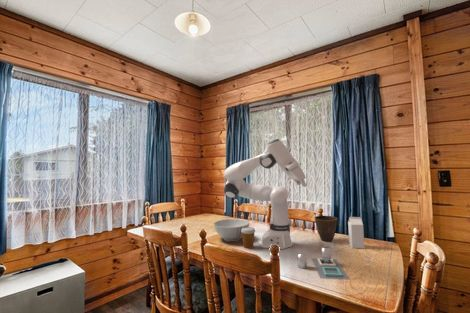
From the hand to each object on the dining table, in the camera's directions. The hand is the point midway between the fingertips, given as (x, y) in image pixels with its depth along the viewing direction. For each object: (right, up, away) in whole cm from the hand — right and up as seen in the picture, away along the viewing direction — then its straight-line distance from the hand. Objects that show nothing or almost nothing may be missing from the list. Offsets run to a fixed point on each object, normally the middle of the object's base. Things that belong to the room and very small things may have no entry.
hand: (302, 185), depth 128 cm
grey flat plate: (+10, -42, -12) cm, 45 cm away
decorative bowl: (-40, -46, +45) cm, 75 cm away
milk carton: (+42, -43, +22) cm, 64 cm away
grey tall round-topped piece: (+11, -41, -6) cm, 42 cm away
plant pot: (+28, -44, +35) cm, 63 cm away
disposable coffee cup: (-28, -45, +27) cm, 59 cm away
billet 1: (-3, -42, -10) cm, 44 cm away
